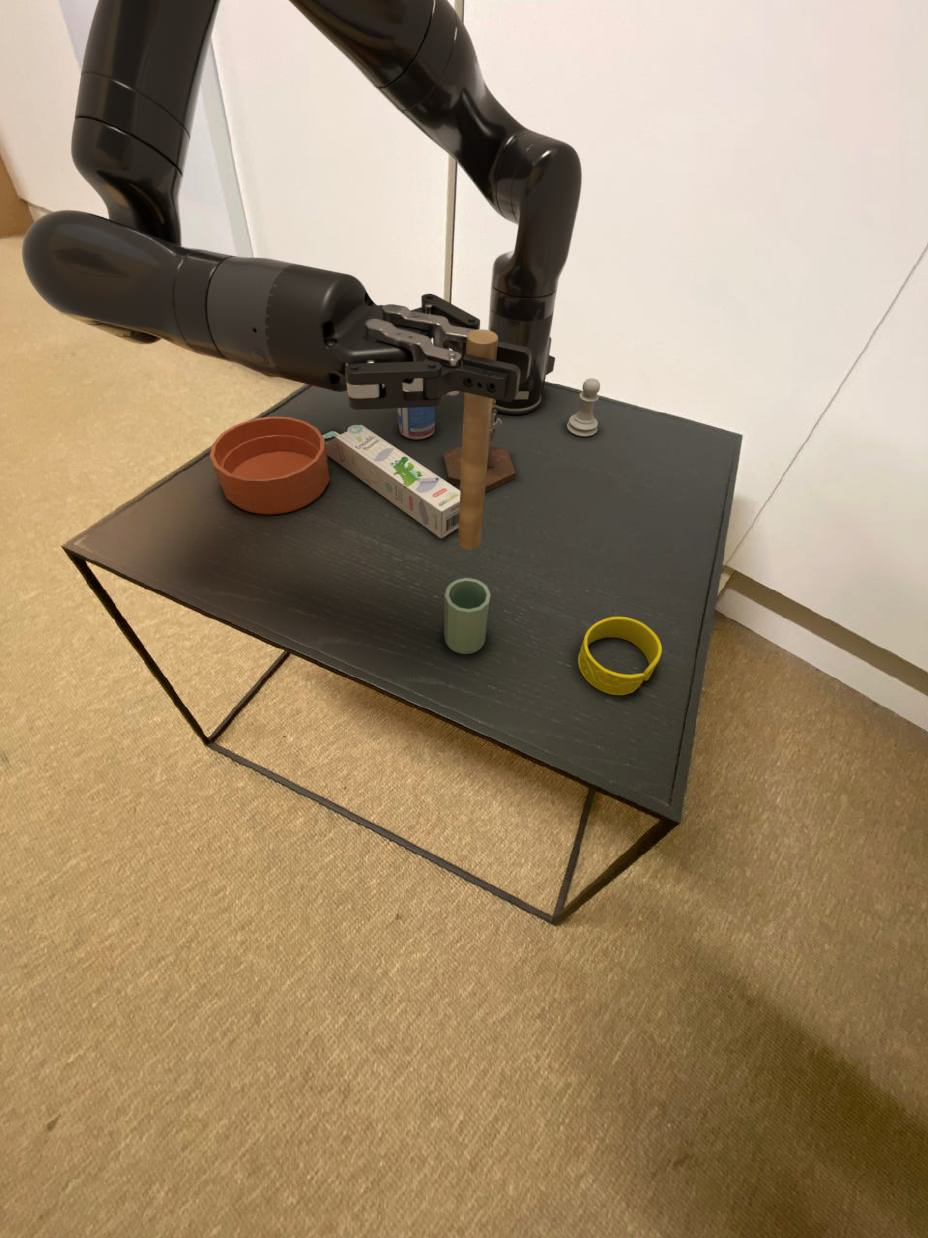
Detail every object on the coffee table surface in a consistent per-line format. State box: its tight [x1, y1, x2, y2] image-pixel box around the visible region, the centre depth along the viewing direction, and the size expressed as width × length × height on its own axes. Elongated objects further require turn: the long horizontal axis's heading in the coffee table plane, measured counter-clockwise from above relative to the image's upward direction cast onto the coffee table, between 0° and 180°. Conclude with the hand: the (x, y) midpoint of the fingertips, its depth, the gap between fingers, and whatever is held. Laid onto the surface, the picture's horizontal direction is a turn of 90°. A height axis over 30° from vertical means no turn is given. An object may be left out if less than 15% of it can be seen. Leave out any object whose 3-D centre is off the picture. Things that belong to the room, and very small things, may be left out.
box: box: [321, 424, 460, 539], centre depth 76 cm, size 4×4×28 cm
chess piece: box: [566, 377, 601, 438], centre depth 84 cm, size 5×5×8 cm
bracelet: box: [577, 616, 663, 696], centre depth 58 cm, size 7×8×3 cm
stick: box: [457, 328, 498, 551], centre depth 43 cm, size 2×2×18 cm
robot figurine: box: [443, 399, 516, 493], centre depth 75 cm, size 11×9×12 cm
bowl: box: [209, 416, 331, 515], centre depth 74 cm, size 14×14×6 cm
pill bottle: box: [397, 389, 436, 440], centre depth 82 cm, size 6×5×10 cm
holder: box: [443, 577, 492, 655], centre depth 58 cm, size 4×4×7 cm
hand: (522, 375), depth 37 cm, fingers closed on stick, 2 cm apart
